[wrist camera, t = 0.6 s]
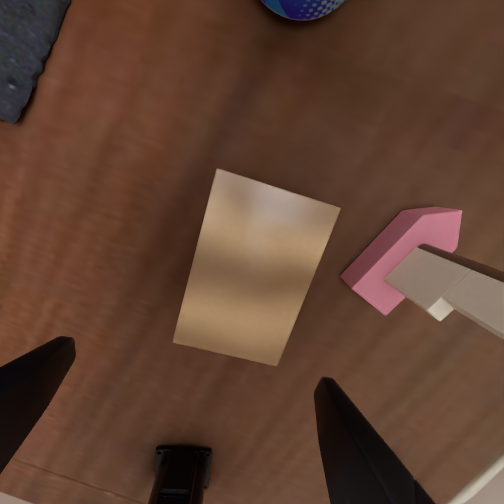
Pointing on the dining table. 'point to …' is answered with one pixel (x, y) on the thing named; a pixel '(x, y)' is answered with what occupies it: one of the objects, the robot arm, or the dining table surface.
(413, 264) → the toy boat
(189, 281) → the wood block
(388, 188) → the dining table surface
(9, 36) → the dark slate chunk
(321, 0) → the beer can
